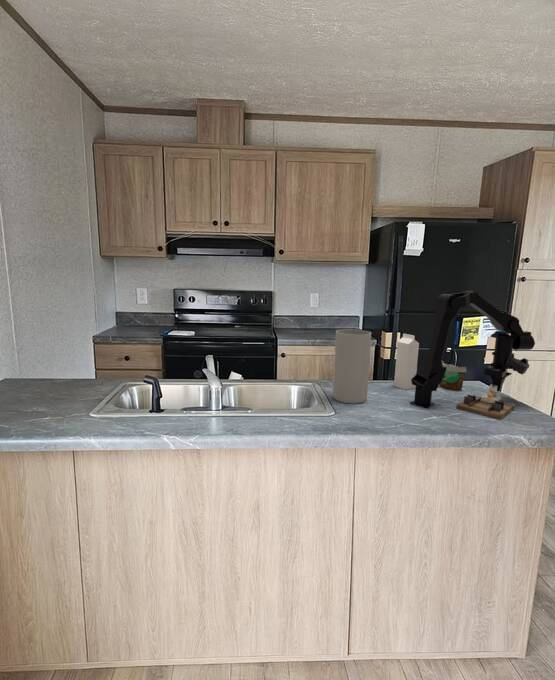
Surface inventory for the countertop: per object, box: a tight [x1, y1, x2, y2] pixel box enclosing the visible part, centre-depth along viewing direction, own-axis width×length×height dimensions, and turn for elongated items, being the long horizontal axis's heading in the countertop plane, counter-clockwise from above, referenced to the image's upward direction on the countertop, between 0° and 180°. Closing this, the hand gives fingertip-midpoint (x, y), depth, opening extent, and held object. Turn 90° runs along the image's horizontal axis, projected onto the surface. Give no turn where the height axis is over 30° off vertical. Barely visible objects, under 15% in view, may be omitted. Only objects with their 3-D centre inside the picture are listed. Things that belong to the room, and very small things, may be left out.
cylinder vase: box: [332, 328, 372, 405], centre depth 144 cm, size 12×12×25 cm
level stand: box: [456, 394, 516, 420], centre depth 139 cm, size 16×14×4 cm
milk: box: [393, 333, 420, 390], centre depth 161 cm, size 6×6×22 cm
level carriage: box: [480, 383, 502, 403], centre depth 142 cm, size 5×5×6 cm
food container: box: [439, 360, 467, 391], centre depth 163 cm, size 12×6×10 cm, turn 25°
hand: (497, 391), depth 147 cm, fingers closed
